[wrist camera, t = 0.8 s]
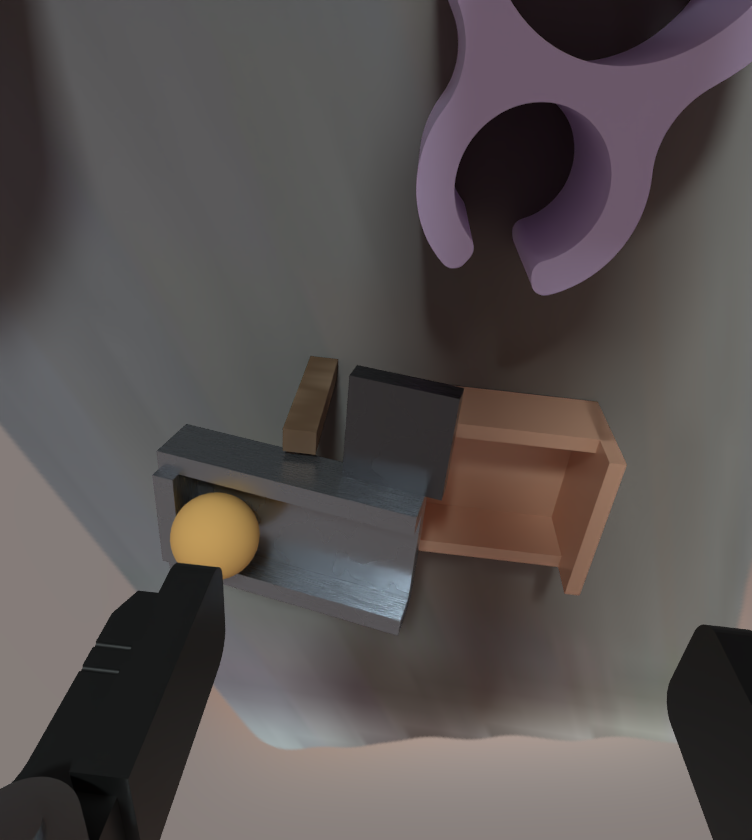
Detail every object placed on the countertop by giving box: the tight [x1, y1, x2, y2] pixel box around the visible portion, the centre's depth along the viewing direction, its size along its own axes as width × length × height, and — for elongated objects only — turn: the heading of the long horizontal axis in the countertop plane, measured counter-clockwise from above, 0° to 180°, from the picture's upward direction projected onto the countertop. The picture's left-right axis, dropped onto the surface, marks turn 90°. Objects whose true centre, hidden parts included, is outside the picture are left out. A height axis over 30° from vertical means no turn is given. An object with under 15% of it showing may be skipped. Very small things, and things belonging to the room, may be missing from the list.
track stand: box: [283, 356, 338, 455], centre depth 34 cm, size 2×10×8 cm, turn 175°
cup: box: [419, 385, 627, 595], centre depth 34 cm, size 10×9×6 cm
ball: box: [170, 492, 260, 579], centre depth 29 cm, size 4×4×4 cm
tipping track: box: [152, 365, 464, 636], centre depth 28 cm, size 13×12×3 cm
